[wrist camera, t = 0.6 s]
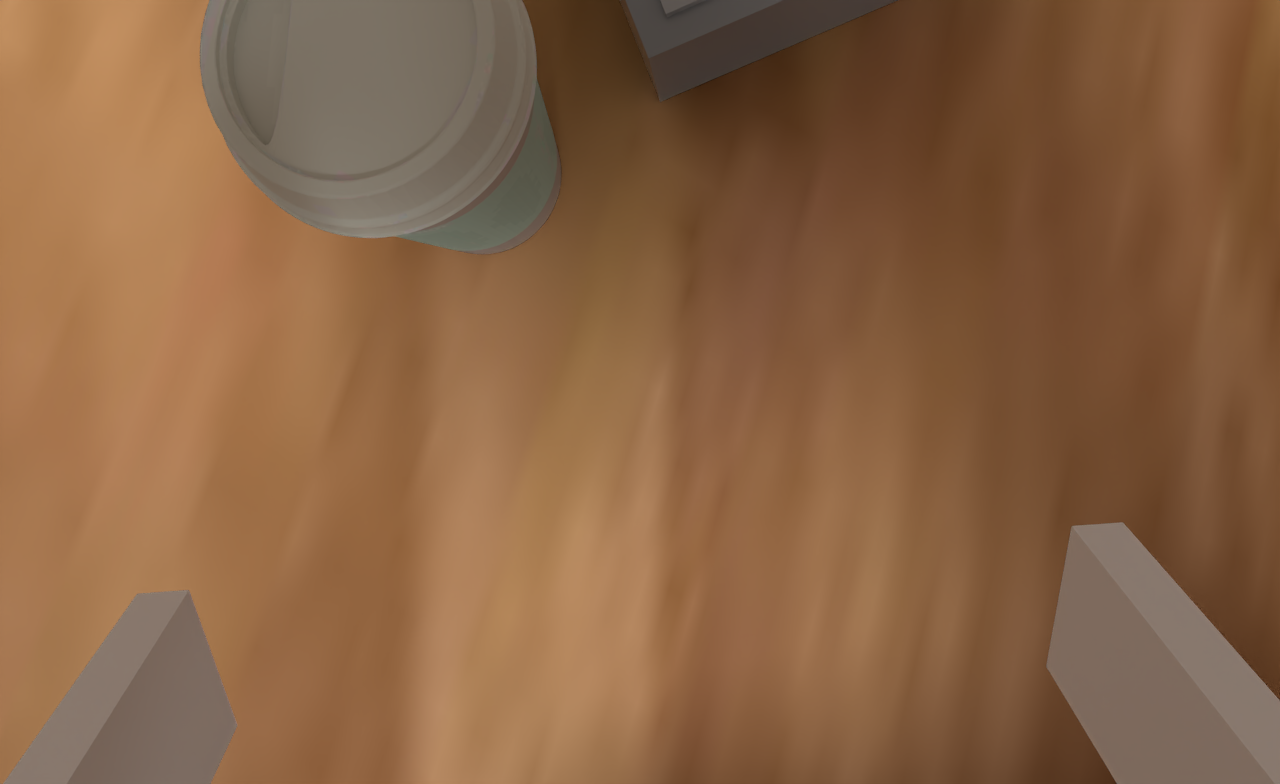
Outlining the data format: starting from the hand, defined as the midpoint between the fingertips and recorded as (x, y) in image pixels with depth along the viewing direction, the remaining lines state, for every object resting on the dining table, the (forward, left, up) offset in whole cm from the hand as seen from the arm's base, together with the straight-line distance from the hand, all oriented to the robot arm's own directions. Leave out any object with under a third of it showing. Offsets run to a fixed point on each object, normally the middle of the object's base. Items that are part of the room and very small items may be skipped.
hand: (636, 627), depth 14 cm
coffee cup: (+14, +3, -19) cm, 24 cm away
